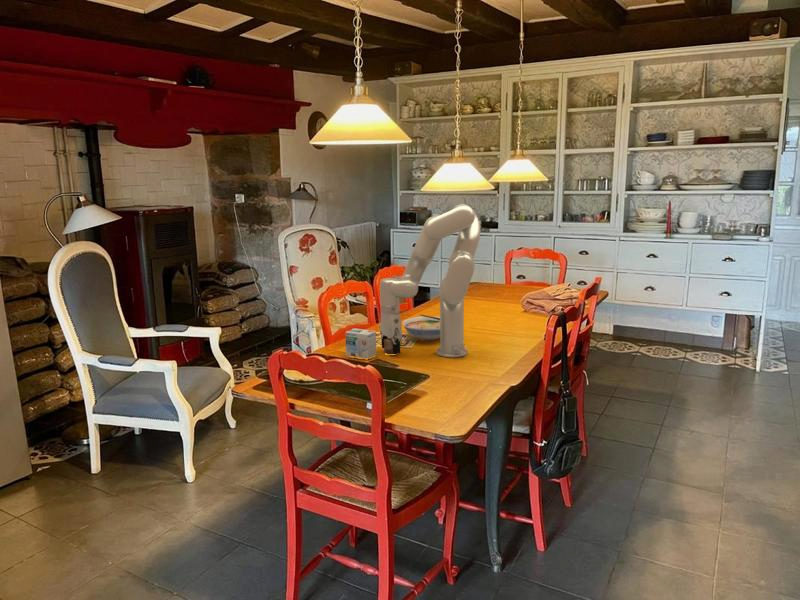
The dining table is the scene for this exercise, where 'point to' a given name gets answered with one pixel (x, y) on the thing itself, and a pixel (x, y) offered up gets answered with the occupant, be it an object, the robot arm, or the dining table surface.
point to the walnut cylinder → (388, 345)
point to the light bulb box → (360, 343)
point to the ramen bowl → (423, 327)
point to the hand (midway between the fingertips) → (390, 350)
